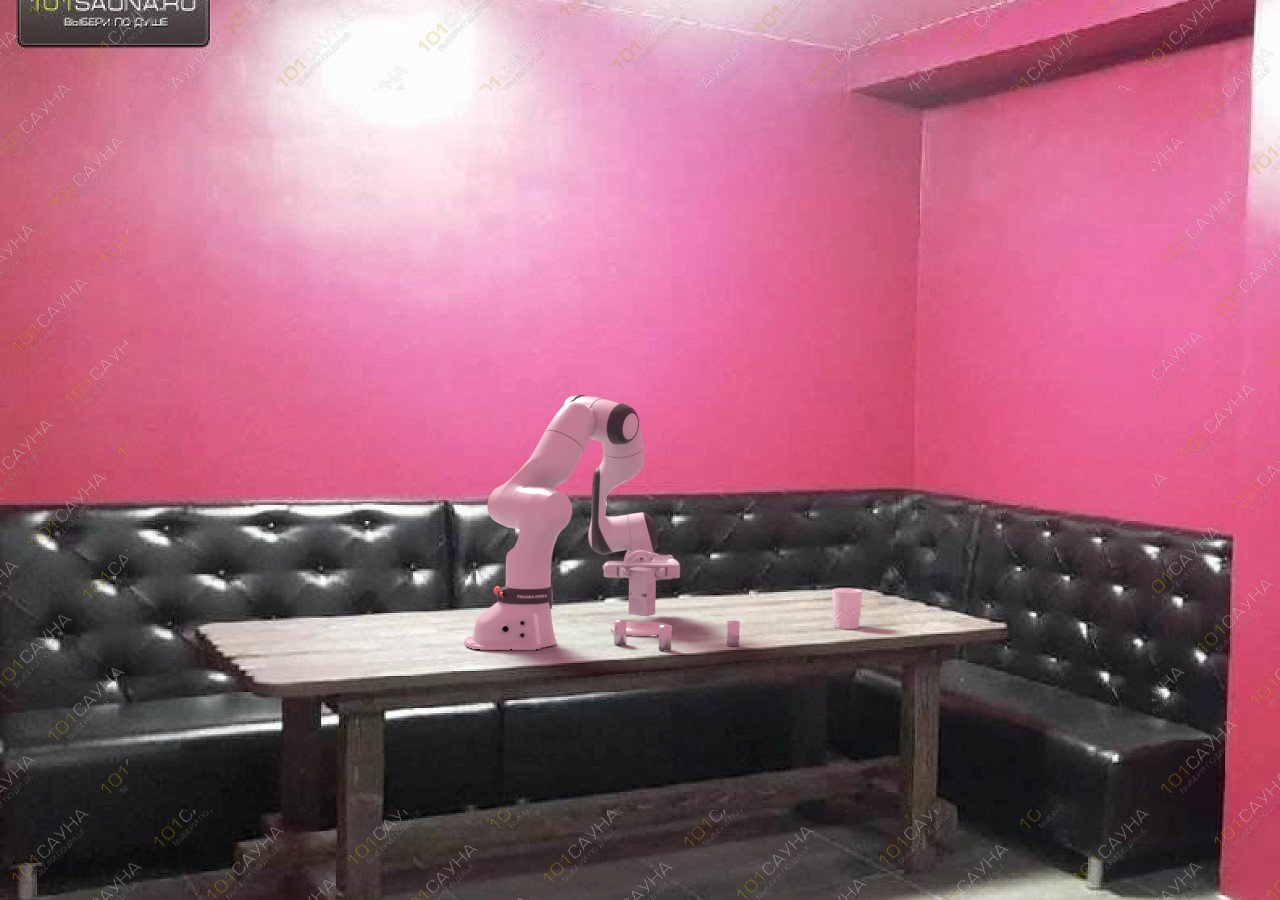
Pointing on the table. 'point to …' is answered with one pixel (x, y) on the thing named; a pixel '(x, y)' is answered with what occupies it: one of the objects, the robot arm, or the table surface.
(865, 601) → the table surface
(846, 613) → the pink cup
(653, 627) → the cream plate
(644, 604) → the skincare box
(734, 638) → the posts
